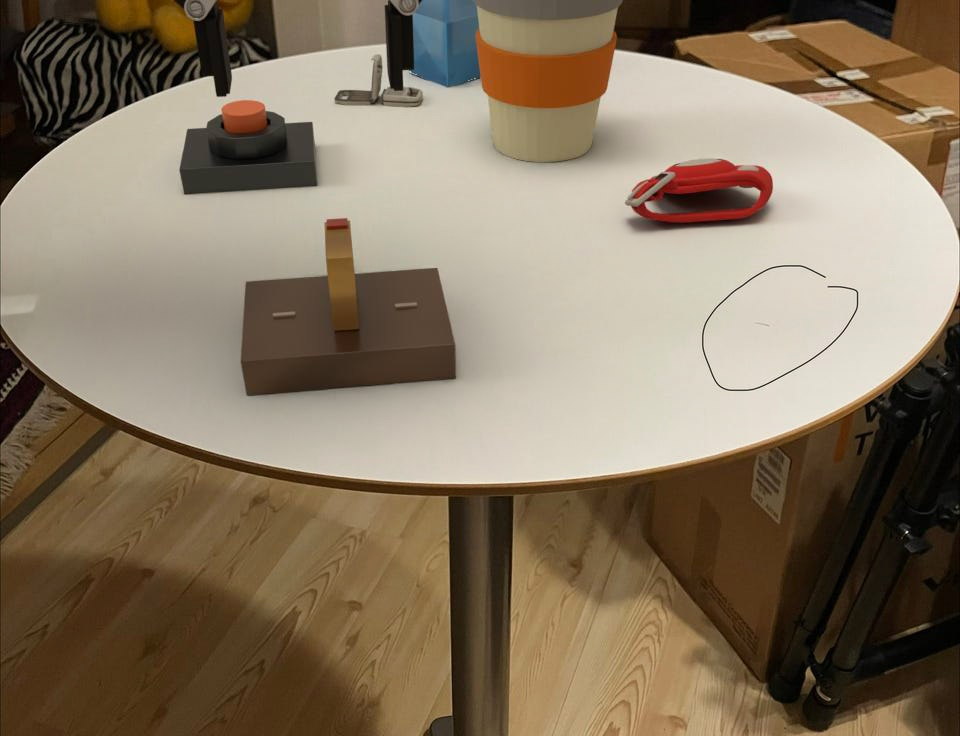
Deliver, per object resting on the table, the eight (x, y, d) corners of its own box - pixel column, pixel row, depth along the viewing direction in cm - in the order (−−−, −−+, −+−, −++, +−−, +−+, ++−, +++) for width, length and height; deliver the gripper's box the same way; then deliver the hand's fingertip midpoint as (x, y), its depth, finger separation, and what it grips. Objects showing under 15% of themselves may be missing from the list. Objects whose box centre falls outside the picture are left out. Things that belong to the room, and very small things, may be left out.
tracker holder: (661, 157, 89) (780, 147, 84) (664, 210, 91) (781, 203, 86) (613, 177, 79) (746, 166, 75) (618, 236, 81) (747, 229, 76)
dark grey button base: (184, 194, 87) (174, 147, 84) (191, 153, 93) (183, 108, 91) (317, 186, 88) (312, 139, 85) (315, 145, 94) (310, 101, 92)
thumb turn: (359, 329, 65) (352, 252, 62) (333, 331, 65) (325, 254, 62) (356, 290, 69) (349, 216, 65) (332, 292, 69) (324, 217, 65)
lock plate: (246, 395, 64) (240, 359, 62) (250, 313, 72) (245, 279, 70) (456, 378, 65) (455, 341, 64) (438, 299, 73) (437, 265, 71)
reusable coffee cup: (552, 107, 101) (558, -64, 92) (640, 147, 94) (658, -35, 84) (446, 137, 96) (441, -42, 86) (531, 182, 88) (536, -9, 78)
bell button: (223, 137, 87) (220, 116, 85) (225, 121, 89) (222, 101, 88) (267, 134, 87) (264, 114, 86) (268, 119, 90) (265, 98, 89)
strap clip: (423, 97, 104) (422, 53, 101) (419, 108, 102) (417, 63, 99) (340, 94, 105) (336, 50, 102) (333, 105, 102) (329, 60, 100)
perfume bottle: (447, 87, 106) (444, -42, 98) (409, 73, 109) (402, -54, 102) (492, 73, 109) (492, -53, 101) (453, 60, 113) (450, -64, 105)
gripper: (68, -288, 44) (147, 115, 55) (472, -285, 46) (470, 104, 57) (95, -299, 50) (161, 68, 61) (453, -297, 52) (454, 60, 63)
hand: (310, 85), depth 59 cm, fingers open, 9 cm apart
